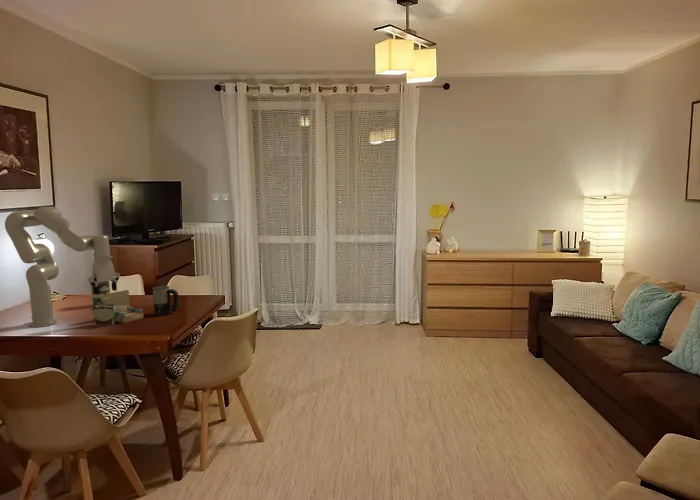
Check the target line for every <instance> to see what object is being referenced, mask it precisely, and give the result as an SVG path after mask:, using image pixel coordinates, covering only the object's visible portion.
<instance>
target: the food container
mask: <svg viewBox="0 0 700 500" xmlns="http://www.w3.org/2000/svg"><path fill="white" fill-rule="evenodd" d="M115 309H116V307H115V305H114V304H100V305H95V306H93V305H92V307H91V311H92V315H93V320H94V324H95V326H114V325H115V321H114V312H115Z"/></svg>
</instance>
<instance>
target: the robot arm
mask: <svg viewBox="0 0 700 500" xmlns="http://www.w3.org/2000/svg"><path fill="white" fill-rule="evenodd" d="M38 226H44V227H45V228H47V230H50V231H51V232H52V233H55V234H56V235H57V237H58V239H59V240H60V241H61V242H62V244H64V245H65V246H67V247H68V248H70V249H72V250H74V251H76V252H85V251H90V250H92V252H93V258H94V262H93V263H92V269H91V270H92V271H91V273H92V275H91V276H89V277H88V278H87V281H88V283H89V285H90V286H91V285H92V286H93V287H94V293H95V294H99V287H98V284H99V282H105V281H109V282H111V290H112V291H114V292H118V291H117V290H118V289H117V288H118V286H117V285H118V281H119V280H120V276H121V273H119V272H117V271H115V267H114V264H113V261H112V259H113V255H111V250H110V241H109V240H110V239H109V236H108V235H105V234H103V235H101V234H100V235H99V234H98V235H92V234H91V235H90V234H89V235H81V236H80V235H77V234H76V233H74V232H73V231H71V230H70V222H69V220H67V219H66V218H64V217H63V216H62V212H61V210H60V209H59V208H58V207H56V206H40V207H37V208H36V209H31V210H30V209H29V210H17V211H16V210H15V211H13V212H11V213H10V214H8V216H7V217H6V218H5V220H4V228H5V231H6V234H7V235H8V237H9V238H10V240H11V242H12V244H13V246H14V248H15V251H16V253H17V254H18V256H19V259H20V260H21V261H22V262H23V263H24V264H28V265H29V264H33V265H31V266H29V267H28V268H27V269H26V271H25V278H26V281H27V285H28V290H29V297H30V298H29V299H30V308H31V310H30V311H31V318H30V319H31V322H30V323H29V324H28V326H29V327H31V328H42V327H47V326H48V327H49V326H52V325H56V324H57V323H58V320H57V319H54V310H53V309H54V308H53V298H52V297H53V296H52V290H51V286H50V285H49V282H48V281H51V280H54V279H56V278H57V277H58V275H59V274H60V273H59V270H60V269H59V265H58V264H57V262H56V260H55V258H54V256H53V254H52V252H51V250H50V249H49V247H48V246H47V245H45V244H43V243H35V242H34V240H33V237H32V236H31V235H30V233H29V232H28V231H27V230H26V229H25V228H28V227H38ZM35 263H36V264H35Z"/></svg>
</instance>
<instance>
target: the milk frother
mask: <svg viewBox="0 0 700 500" xmlns="http://www.w3.org/2000/svg"><path fill="white" fill-rule="evenodd" d="M151 289H152V297H153V307H154V308H153V311H154V313H153V314H154V315H155V316H156V315H157V316H161V315H162V316H163V315H168V314H169V315H170V314H171V313H172V310H174V309H175V310H177V309H178V308H179V307H180V306H181V305H182V304H181V303H180V302H179V292H178V291H177V290H176V289H171V288H170V286H169V285H160V286H159V285H157V286H154V287H152V288H151ZM171 294H172V296H173V303H172V301H171V300H172V299H171Z"/></svg>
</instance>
